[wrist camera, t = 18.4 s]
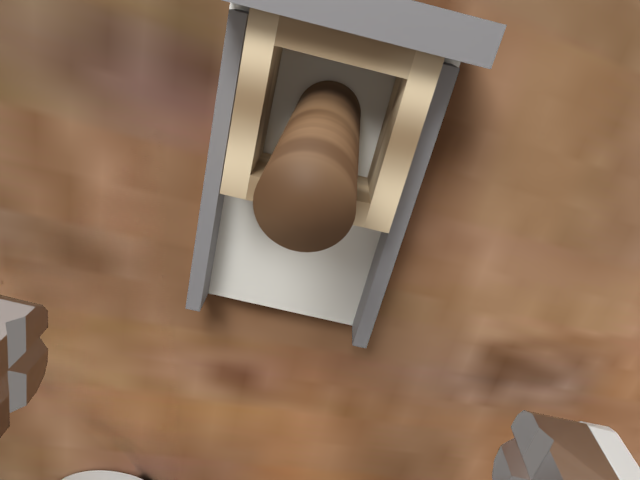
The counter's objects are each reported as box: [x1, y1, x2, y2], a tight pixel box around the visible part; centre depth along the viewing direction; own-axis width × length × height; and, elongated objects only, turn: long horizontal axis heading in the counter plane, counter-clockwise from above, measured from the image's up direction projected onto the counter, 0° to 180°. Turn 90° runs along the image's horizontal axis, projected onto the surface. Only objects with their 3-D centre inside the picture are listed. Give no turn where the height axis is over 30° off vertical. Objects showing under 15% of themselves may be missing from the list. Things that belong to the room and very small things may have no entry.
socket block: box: [220, 8, 445, 233], centre depth 30 cm, size 10×10×5 cm
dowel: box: [253, 80, 361, 252], centre depth 26 cm, size 4×4×14 cm
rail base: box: [186, 0, 507, 348], centre depth 31 cm, size 22×14×8 cm, turn 167°
